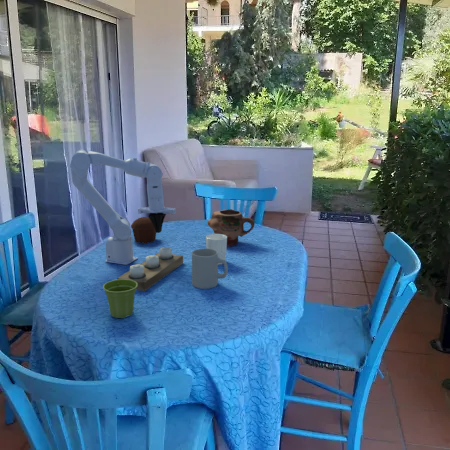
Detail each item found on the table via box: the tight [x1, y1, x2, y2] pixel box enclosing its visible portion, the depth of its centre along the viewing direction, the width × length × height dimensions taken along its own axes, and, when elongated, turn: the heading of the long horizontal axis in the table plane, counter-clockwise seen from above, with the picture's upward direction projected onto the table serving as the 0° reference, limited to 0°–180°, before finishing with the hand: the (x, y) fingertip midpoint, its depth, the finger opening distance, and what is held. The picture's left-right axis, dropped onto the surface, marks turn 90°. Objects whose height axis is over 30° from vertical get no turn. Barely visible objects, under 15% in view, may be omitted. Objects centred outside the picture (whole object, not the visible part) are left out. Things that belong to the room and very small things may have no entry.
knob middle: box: [145, 254, 159, 268], centre depth 156 cm, size 4×4×3 cm
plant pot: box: [102, 279, 138, 319], centre depth 126 cm, size 9×9×9 cm
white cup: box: [205, 233, 228, 266], centre depth 168 cm, size 8×8×10 cm
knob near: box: [129, 263, 144, 278], centre depth 146 cm, size 4×4×3 cm
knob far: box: [159, 246, 173, 259], centre depth 165 cm, size 4×4×3 cm
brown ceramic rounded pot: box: [207, 208, 256, 247], centre depth 190 cm, size 20×12×14 cm, turn 85°
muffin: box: [130, 216, 157, 244], centre depth 194 cm, size 12×11×10 cm
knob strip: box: [116, 251, 184, 292], centre depth 156 cm, size 10×28×3 cm, turn 159°
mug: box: [191, 248, 229, 290], centre depth 147 cm, size 12×8×11 cm
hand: (158, 232), depth 170 cm, fingers closed
